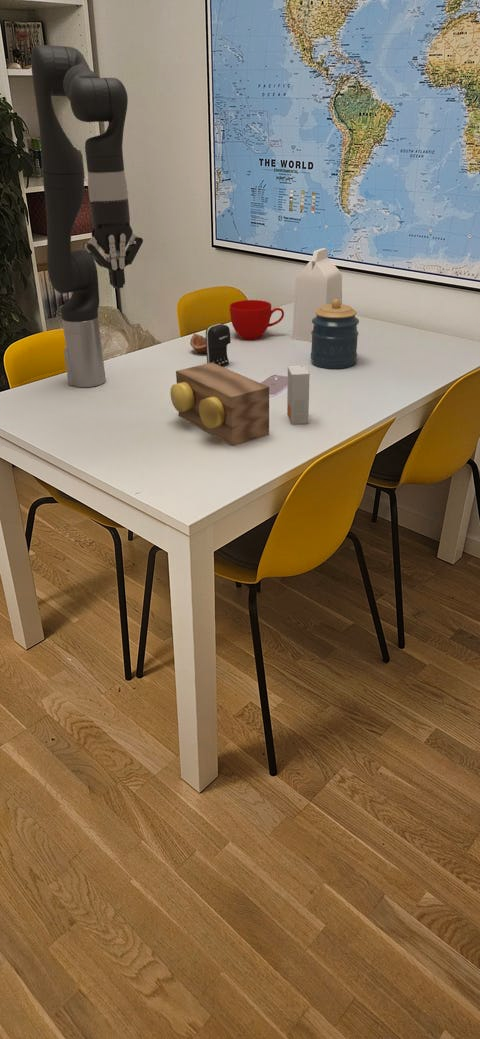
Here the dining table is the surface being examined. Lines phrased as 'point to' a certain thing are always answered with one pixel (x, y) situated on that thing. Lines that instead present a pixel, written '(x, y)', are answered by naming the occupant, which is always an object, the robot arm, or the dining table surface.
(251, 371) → the dining table surface
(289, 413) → the skincare box
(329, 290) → the milk
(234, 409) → the block
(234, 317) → the ceramic cup
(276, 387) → the mobile phone
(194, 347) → the broken brown shell
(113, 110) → the robot arm
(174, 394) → the knob
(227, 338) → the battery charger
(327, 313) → the canister
